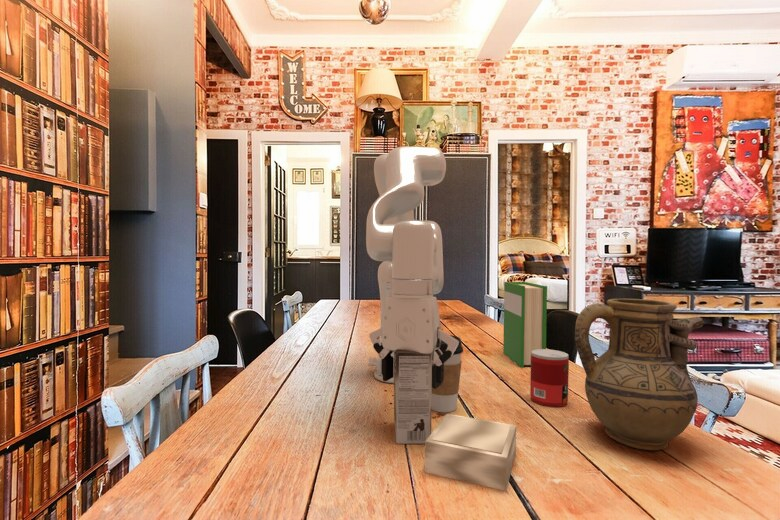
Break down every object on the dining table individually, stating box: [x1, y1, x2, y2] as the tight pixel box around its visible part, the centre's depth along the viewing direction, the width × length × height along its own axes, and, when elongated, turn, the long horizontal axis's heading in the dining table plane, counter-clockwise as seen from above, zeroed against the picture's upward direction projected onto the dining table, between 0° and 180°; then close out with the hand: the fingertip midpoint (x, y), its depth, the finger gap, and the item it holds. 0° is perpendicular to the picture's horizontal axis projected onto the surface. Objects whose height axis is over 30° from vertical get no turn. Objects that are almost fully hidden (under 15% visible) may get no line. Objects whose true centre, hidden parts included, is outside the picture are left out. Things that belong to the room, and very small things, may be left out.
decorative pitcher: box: [574, 298, 705, 451], centre depth 74 cm, size 22×18×25 cm
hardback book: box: [502, 281, 548, 369], centre depth 129 cm, size 18×7×24 cm, turn 1°
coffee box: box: [393, 349, 432, 445], centre depth 76 cm, size 9×6×16 cm
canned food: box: [529, 348, 570, 408], centre depth 93 cm, size 8×8×11 cm
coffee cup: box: [431, 334, 464, 413], centre depth 89 cm, size 8×8×15 cm
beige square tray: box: [424, 413, 517, 492], centre depth 66 cm, size 12×12×5 cm
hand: (411, 382), depth 75 cm, fingers open, 9 cm apart
